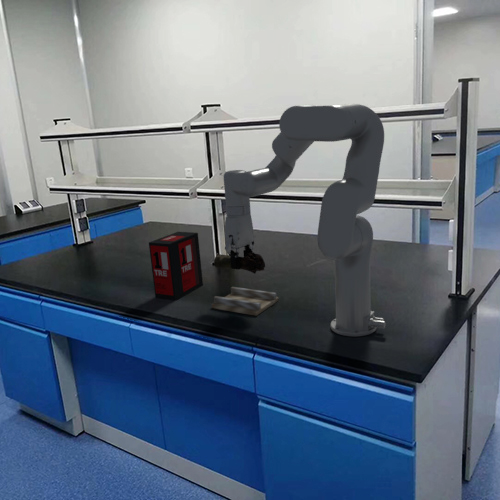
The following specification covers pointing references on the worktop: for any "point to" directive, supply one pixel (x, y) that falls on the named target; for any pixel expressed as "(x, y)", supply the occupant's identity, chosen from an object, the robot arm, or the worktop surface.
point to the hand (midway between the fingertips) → (242, 265)
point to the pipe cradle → (245, 301)
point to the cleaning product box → (176, 265)
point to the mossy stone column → (241, 262)
